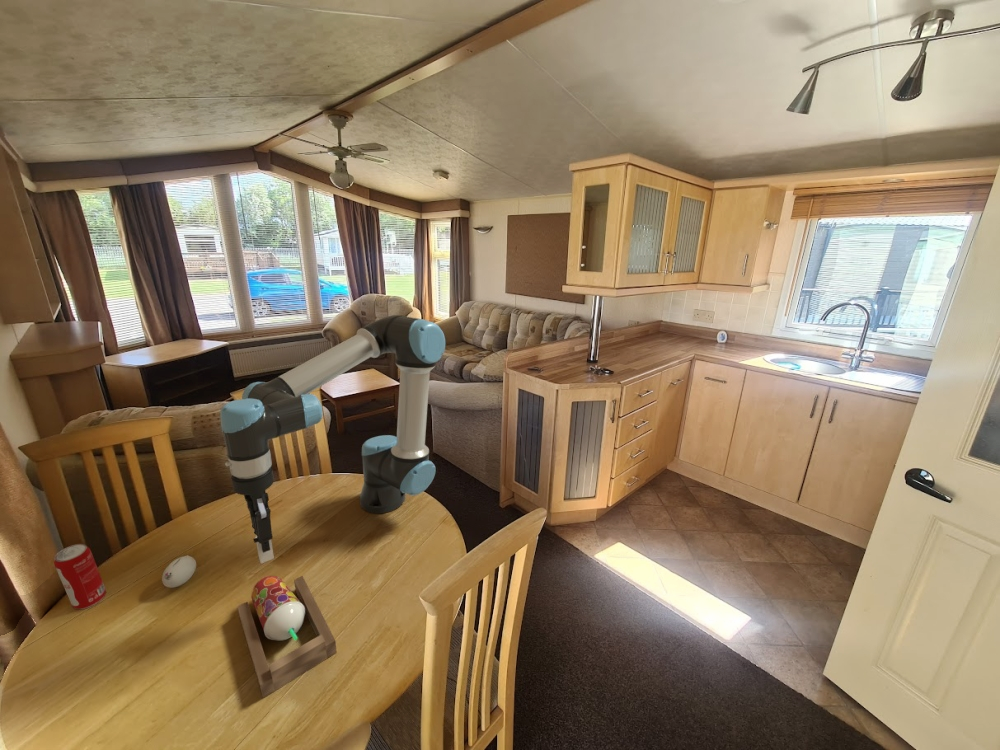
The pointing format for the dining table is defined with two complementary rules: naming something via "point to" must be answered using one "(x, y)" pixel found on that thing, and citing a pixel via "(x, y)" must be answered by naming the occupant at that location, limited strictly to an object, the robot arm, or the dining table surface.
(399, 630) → the dining table surface
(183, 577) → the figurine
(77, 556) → the beverage can
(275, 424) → the robot arm
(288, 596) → the smoothie
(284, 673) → the u rest
